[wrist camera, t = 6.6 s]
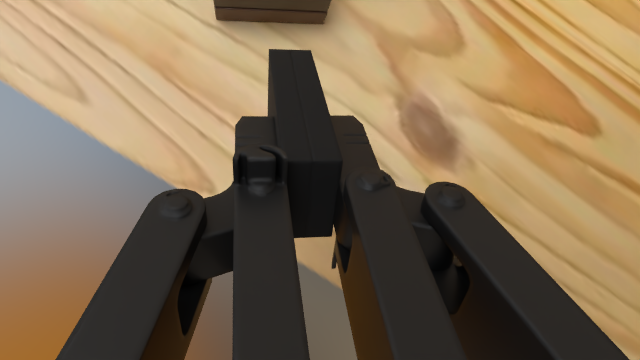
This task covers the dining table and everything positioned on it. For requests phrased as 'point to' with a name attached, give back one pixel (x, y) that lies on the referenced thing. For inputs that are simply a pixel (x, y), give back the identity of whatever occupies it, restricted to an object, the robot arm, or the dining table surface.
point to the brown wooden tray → (273, 10)
